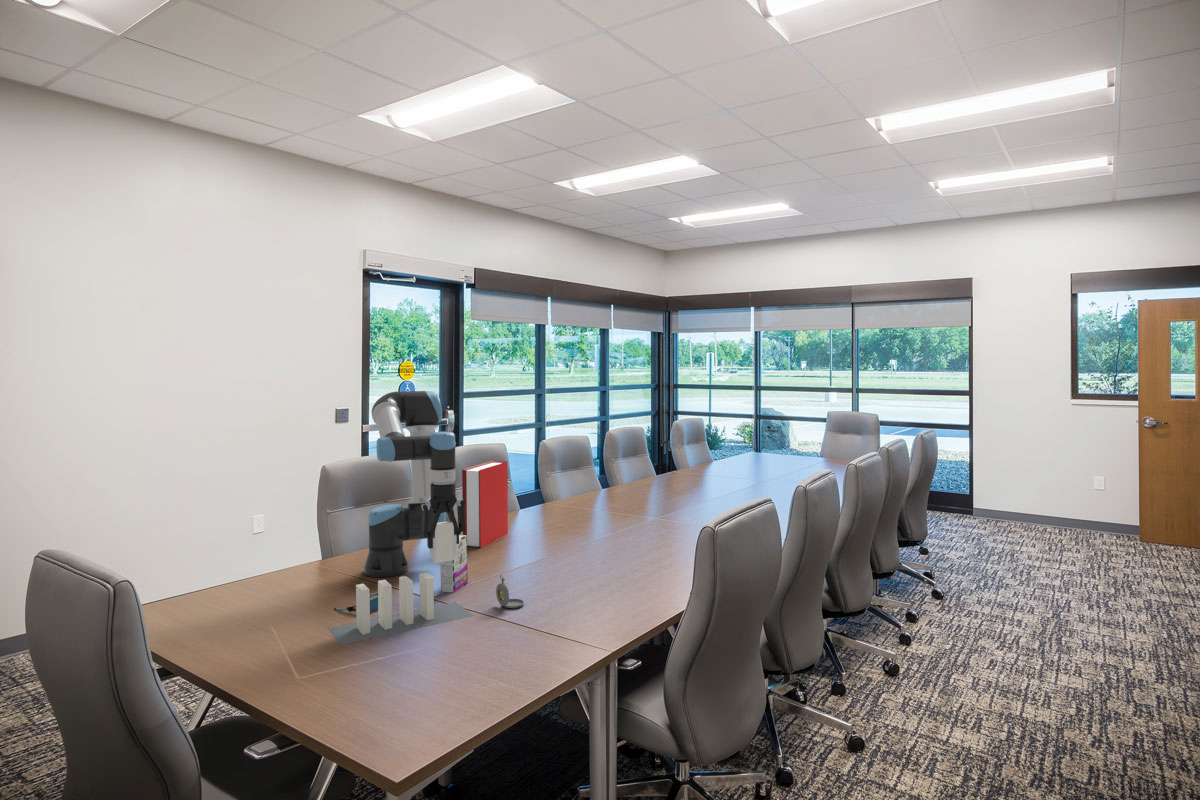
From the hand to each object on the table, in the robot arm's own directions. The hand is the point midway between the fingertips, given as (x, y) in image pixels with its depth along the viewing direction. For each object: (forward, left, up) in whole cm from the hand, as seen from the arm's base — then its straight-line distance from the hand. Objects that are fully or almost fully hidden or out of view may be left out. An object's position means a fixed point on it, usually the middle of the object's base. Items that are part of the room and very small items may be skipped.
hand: (443, 556), depth 205 cm
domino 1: (+10, -27, -14) cm, 32 cm away
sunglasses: (-10, -21, -15) cm, 28 cm away
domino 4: (+10, -9, -14) cm, 19 cm away
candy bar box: (-11, +8, -15) cm, 20 cm away
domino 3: (+10, -15, -14) cm, 23 cm away
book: (-63, +44, -15) cm, 78 cm away
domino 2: (+10, -21, -14) cm, 27 cm away
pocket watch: (+15, +15, -15) cm, 26 cm away
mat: (+10, -16, -14) cm, 24 cm away
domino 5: (0, 0, -1) cm, 1 cm away
